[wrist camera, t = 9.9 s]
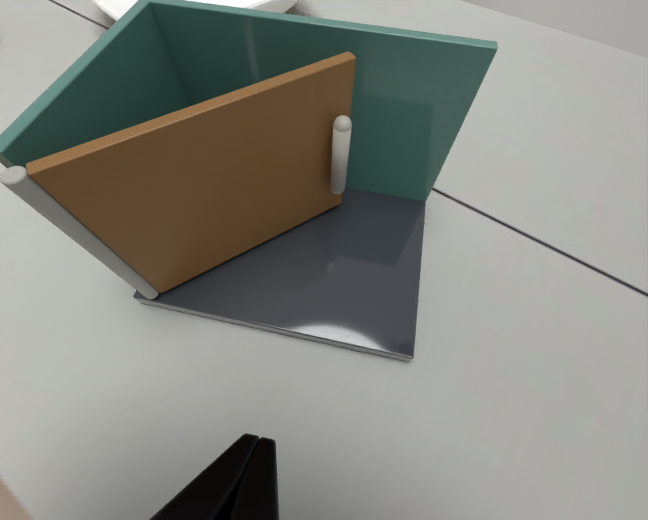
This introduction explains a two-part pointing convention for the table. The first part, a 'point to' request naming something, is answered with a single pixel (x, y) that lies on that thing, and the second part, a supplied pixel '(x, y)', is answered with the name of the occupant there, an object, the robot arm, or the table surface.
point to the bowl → (117, 3)
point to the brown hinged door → (201, 177)
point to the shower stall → (362, 169)
